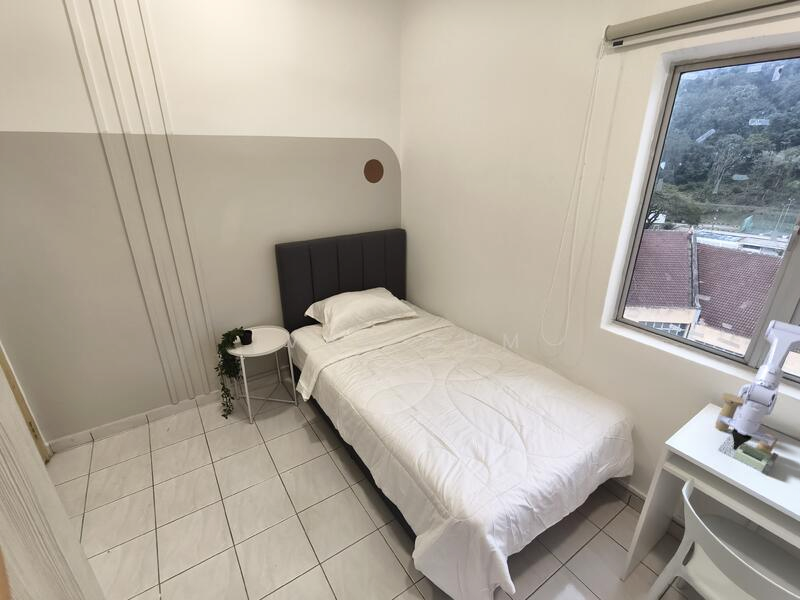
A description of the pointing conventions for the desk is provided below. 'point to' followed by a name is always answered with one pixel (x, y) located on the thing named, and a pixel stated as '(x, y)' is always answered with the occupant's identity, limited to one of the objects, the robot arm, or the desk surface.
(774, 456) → the board
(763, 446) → the dowel
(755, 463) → the collar block
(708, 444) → the desk surface
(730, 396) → the handle
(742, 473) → the desk surface
